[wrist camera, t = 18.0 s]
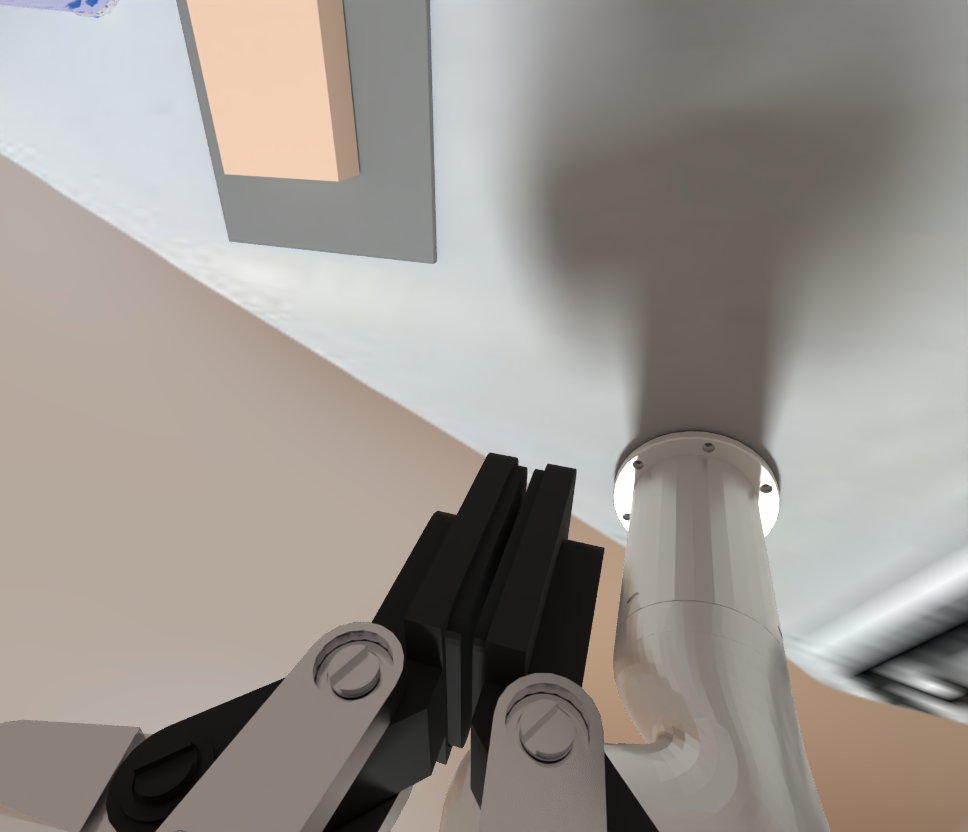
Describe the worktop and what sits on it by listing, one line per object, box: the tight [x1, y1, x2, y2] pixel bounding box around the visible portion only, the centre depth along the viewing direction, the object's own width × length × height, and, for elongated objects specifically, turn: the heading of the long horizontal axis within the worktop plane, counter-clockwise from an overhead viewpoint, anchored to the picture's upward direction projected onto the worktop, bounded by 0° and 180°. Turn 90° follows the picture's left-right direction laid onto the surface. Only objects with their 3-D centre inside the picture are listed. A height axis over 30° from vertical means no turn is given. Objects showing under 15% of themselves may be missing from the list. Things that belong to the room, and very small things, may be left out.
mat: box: [176, 0, 437, 264], centre depth 38 cm, size 22×18×1 cm
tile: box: [187, 0, 360, 182], centre depth 37 cm, size 10×3×9 cm
